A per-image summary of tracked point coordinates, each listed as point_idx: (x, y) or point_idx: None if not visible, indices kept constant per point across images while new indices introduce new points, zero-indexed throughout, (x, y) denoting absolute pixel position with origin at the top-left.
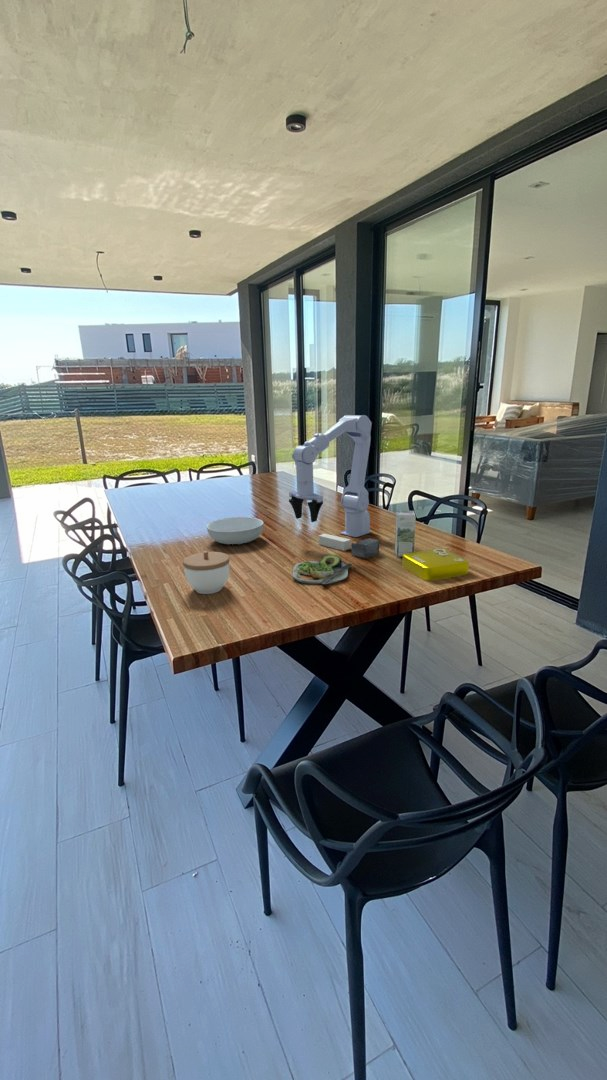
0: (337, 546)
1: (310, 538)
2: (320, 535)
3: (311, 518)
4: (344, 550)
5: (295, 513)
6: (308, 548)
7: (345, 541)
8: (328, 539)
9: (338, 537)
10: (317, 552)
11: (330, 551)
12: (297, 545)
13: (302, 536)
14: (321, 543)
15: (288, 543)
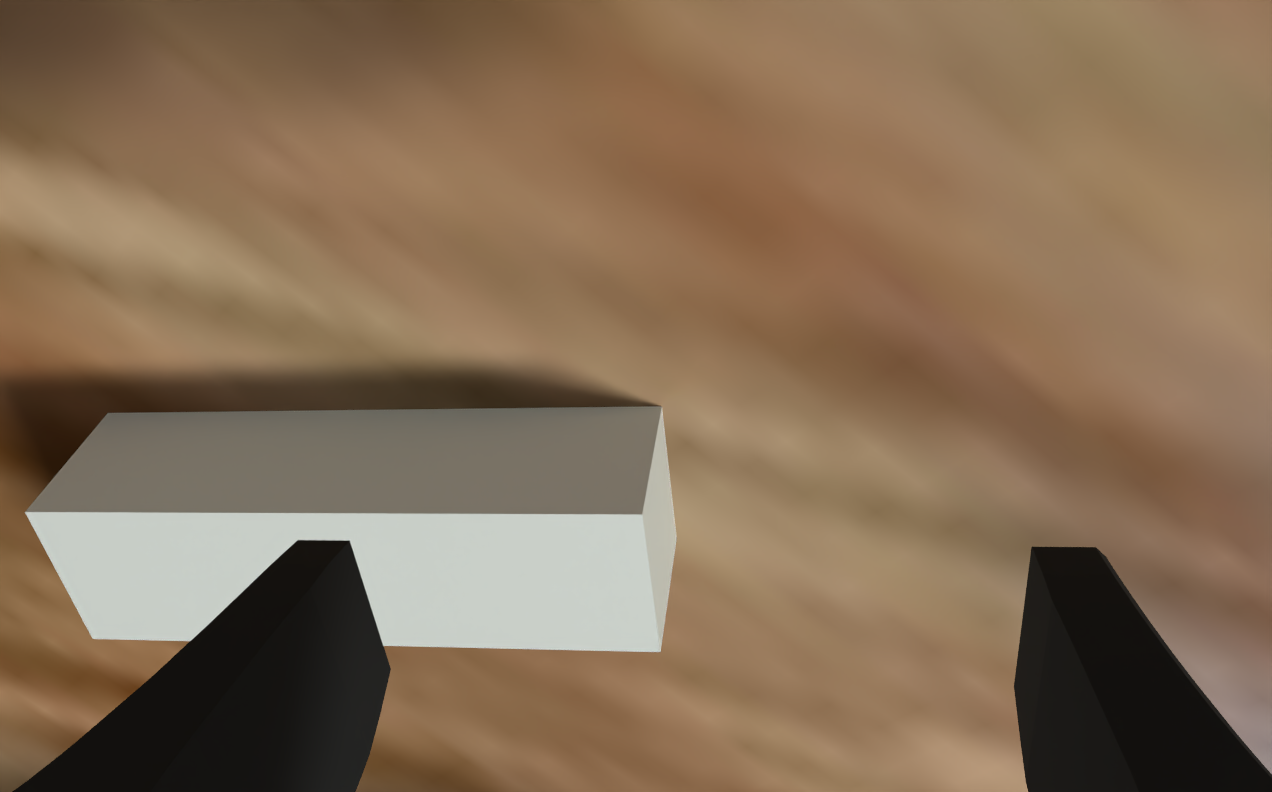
0: (216, 439)
1: (1038, 539)
2: (621, 540)
3: (257, 604)
4: (110, 424)
5: (1129, 671)
6: (584, 122)
7: (43, 541)
8: (387, 495)
9: None
10: (255, 68)
11: (183, 263)
12: (920, 105)
13: (1262, 540)
14: (584, 423)
15: (1208, 66)
